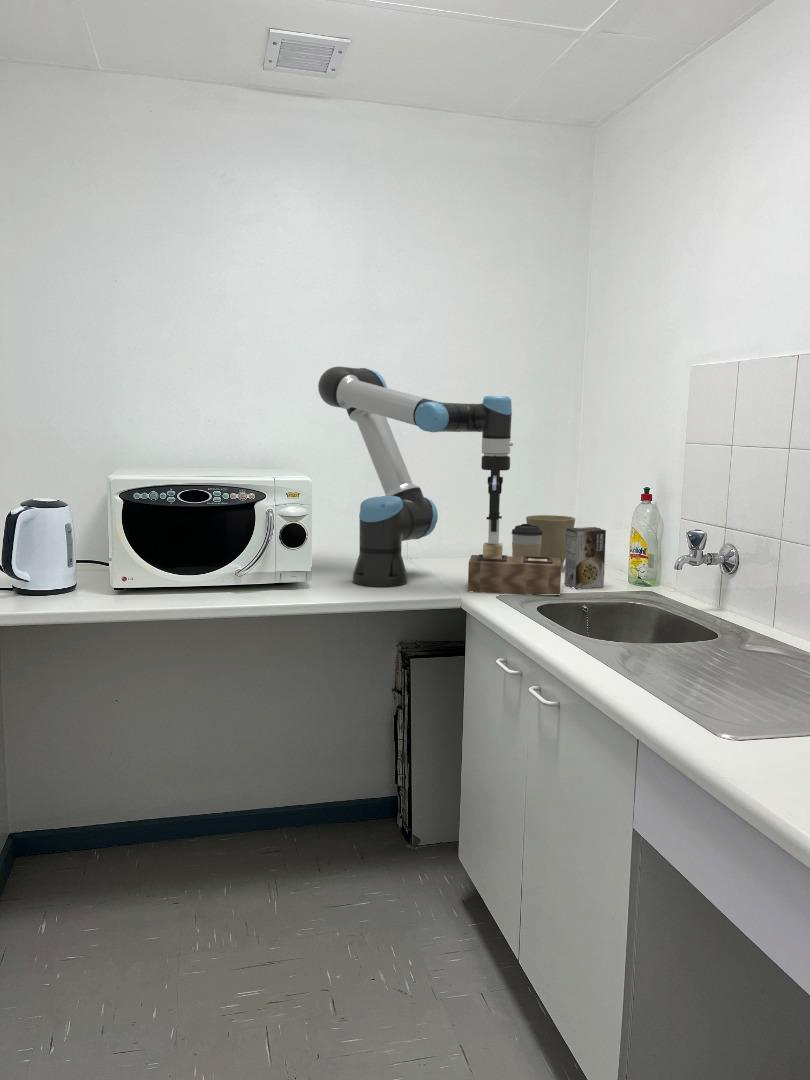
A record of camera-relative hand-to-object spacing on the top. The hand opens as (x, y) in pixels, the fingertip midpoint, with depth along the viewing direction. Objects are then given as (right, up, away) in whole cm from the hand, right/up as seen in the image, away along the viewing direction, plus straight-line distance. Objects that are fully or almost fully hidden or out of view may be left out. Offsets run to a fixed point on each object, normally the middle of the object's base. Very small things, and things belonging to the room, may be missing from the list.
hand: (493, 543), depth 221 cm
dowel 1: (0, -7, +1) cm, 7 cm away
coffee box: (+26, -12, +7) cm, 29 cm away
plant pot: (+21, -8, +34) cm, 41 cm away
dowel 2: (+12, -11, 0) cm, 16 cm away
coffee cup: (+12, -10, +21) cm, 26 cm away
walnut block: (+6, -12, +1) cm, 14 cm away
